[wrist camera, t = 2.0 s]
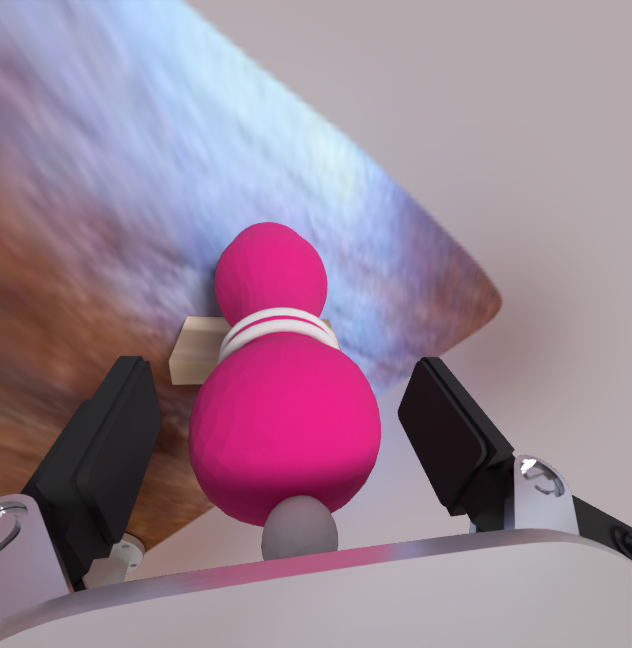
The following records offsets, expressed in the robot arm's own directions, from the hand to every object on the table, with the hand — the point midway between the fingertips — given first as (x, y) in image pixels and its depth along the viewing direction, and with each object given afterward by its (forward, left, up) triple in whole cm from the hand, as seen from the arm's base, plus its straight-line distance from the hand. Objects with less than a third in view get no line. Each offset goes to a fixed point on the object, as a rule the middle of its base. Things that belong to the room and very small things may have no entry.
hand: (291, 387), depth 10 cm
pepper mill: (0, 0, -15) cm, 15 cm away
